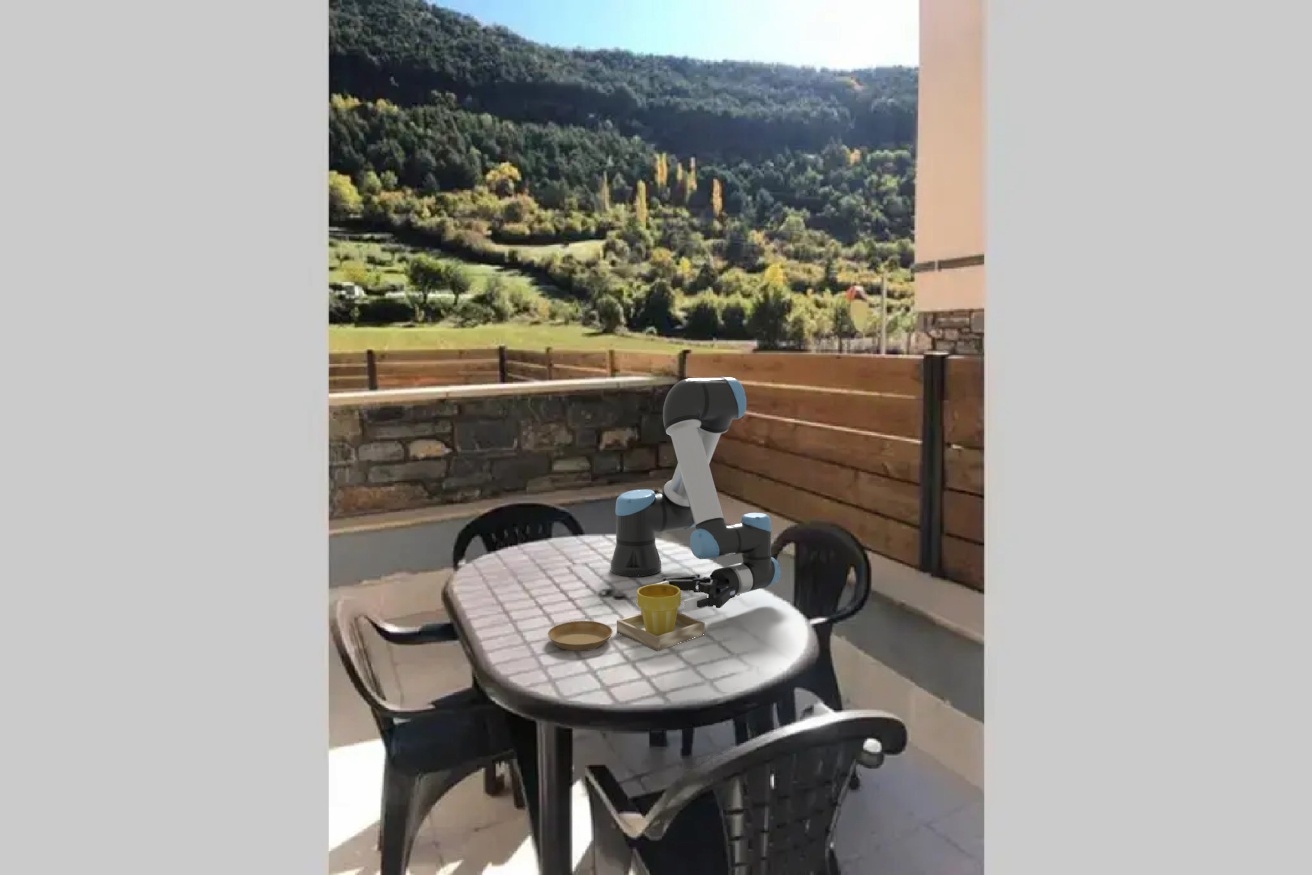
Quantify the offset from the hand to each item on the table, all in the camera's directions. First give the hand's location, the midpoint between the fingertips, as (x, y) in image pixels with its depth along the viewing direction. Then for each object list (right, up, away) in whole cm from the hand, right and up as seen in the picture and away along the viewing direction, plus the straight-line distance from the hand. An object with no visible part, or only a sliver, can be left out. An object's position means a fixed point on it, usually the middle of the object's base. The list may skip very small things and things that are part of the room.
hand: (665, 598), depth 187 cm
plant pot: (-1, -8, +1) cm, 8 cm away
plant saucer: (-20, -9, -4) cm, 22 cm away
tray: (-1, -8, 0) cm, 8 cm away
